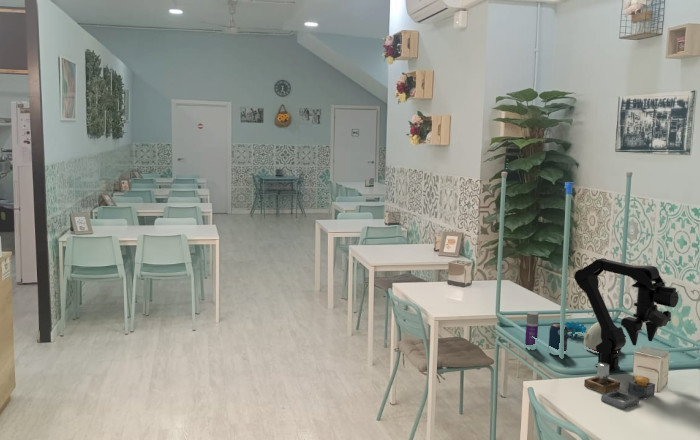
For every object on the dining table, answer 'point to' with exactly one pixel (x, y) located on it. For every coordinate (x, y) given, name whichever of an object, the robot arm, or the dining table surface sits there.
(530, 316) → the container
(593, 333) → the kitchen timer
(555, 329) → the soda can
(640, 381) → the plunger
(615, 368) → the robot arm
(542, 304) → the dining table surface
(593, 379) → the brown wooden tray
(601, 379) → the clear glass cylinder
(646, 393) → the socket block
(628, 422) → the dining table surface
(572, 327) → the blue irregular lump
